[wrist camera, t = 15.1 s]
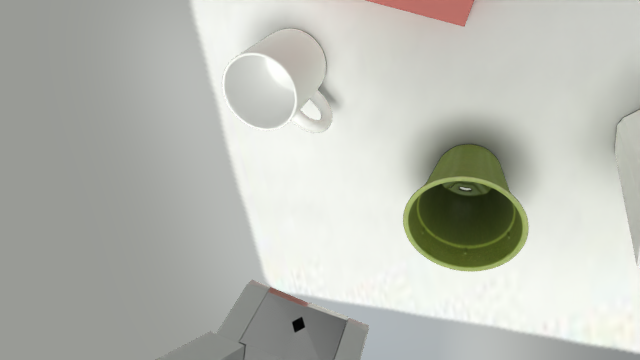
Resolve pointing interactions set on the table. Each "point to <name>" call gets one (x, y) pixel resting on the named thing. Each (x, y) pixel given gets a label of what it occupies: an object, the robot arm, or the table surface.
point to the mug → (278, 82)
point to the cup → (630, 173)
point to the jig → (434, 8)
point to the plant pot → (466, 213)
